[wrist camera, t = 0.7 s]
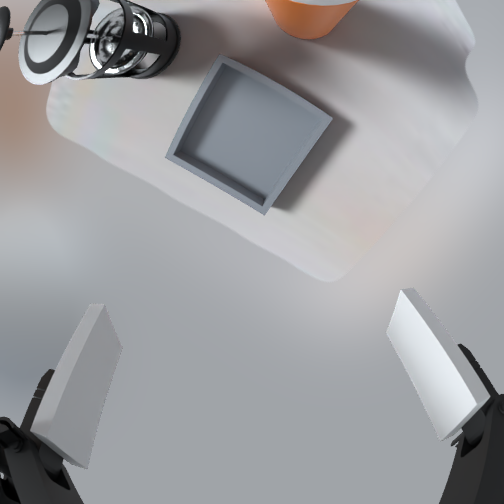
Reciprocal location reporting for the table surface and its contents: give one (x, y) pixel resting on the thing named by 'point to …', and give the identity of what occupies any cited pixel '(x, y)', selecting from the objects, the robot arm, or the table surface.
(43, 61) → the french press
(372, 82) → the table surface
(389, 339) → the robot arm
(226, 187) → the tray
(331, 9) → the shaker bottle
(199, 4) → the table surface
